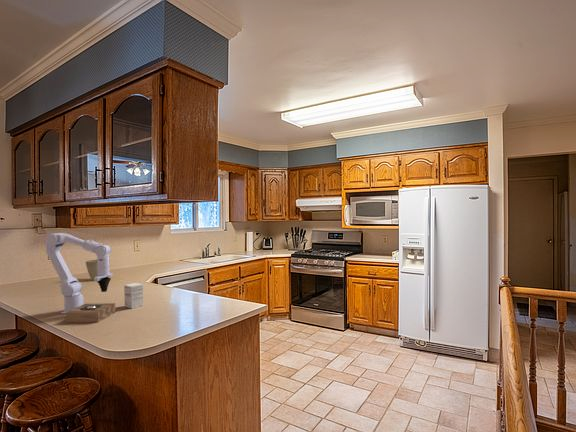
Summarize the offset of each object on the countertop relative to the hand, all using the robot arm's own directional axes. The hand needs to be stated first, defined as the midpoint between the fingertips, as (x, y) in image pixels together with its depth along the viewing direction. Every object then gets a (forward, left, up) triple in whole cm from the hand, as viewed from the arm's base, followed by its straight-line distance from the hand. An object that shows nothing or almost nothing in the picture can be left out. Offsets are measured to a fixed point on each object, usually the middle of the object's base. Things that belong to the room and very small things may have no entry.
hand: (104, 291), depth 182 cm
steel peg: (+12, 0, -10) cm, 16 cm away
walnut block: (+12, 0, -10) cm, 16 cm away
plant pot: (-87, -54, -11) cm, 103 cm away
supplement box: (-7, +13, -11) cm, 18 cm away
